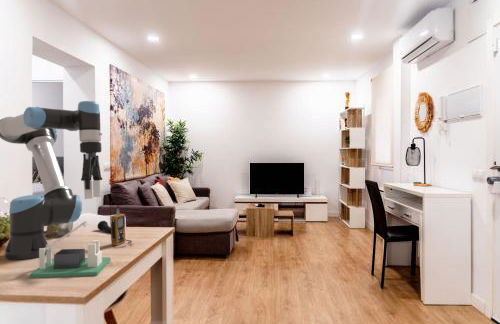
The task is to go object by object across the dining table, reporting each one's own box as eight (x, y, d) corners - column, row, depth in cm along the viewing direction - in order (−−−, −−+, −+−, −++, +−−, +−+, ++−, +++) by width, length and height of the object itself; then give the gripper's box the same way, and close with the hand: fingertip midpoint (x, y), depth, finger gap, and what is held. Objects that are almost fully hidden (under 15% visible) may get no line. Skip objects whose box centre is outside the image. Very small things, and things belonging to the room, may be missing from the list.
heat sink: (53, 269, 128) (53, 254, 127) (62, 262, 136) (62, 249, 135) (78, 268, 129) (78, 254, 129) (85, 261, 137) (85, 248, 136)
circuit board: (29, 277, 122) (29, 250, 122) (51, 262, 140) (51, 238, 140) (97, 275, 125) (97, 248, 124) (110, 260, 142) (110, 236, 142)
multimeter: (128, 248, 160) (127, 201, 159) (106, 248, 161) (105, 201, 161) (144, 240, 174) (143, 197, 174) (124, 240, 176) (123, 197, 176)
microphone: (119, 240, 189) (103, 230, 203) (122, 229, 190) (106, 220, 203) (109, 238, 186) (94, 228, 199) (113, 228, 186) (97, 218, 200)
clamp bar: (43, 255, 129) (39, 250, 129) (48, 252, 133) (44, 247, 133) (85, 226, 131) (81, 221, 130) (88, 224, 135) (85, 219, 134)
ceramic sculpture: (75, 218, 183) (40, 223, 174) (76, 236, 184) (42, 242, 175) (70, 215, 192) (36, 220, 183) (71, 232, 192) (38, 238, 183)
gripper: (93, 138, 133) (96, 198, 132) (107, 144, 157) (109, 195, 156) (70, 139, 131) (73, 200, 131) (88, 145, 156) (90, 196, 155)
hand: (93, 197), depth 143 cm, fingers open, 13 cm apart
